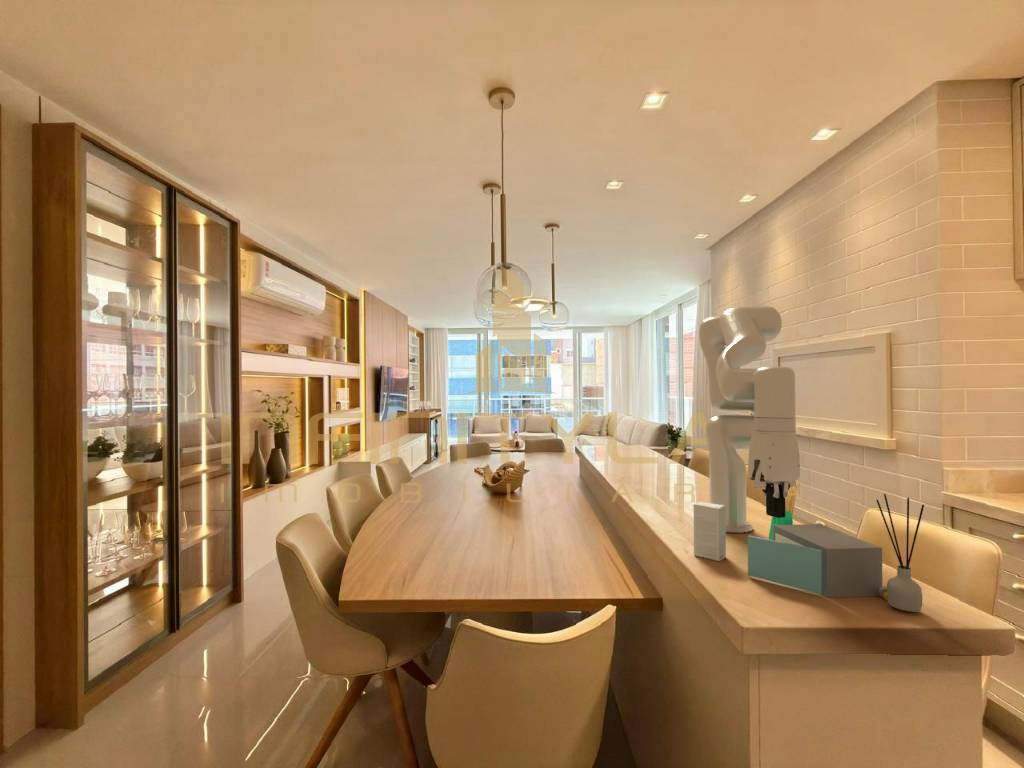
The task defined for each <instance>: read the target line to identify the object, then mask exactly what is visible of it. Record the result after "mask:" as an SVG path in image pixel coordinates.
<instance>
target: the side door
mask: <svg viewBox="0 0 1024 768" xmlns="http://www.w3.org/2000/svg"><path fill="white" fill-rule="evenodd" d="M747 576H750V577H754V578H758V579H761V580H765V581H769V582H772V583H777V584H780V585H784V586H787V587H793V588H796V589H799V590H802V591H806V592H810V593H815V594H818V595H822V550H818V549H813V548H808V547H804V546H799V545H794V544H789V543H784V542H779V541H774V540H770V539H769V538H763V537H759V536H755V535H750V534H749V535H748V536H747Z"/></svg>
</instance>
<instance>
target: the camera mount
mask: <svg viewBox="0 0 1024 768" xmlns="http://www.w3.org/2000/svg"><path fill="white" fill-rule="evenodd" d="M785 513H786V516H785V517H781V518H777V517H773V516H771V520H770V521H771V522H770V528H769V533H768V539H770V540H774V534H773V525H794V524H793V523H794V520H793V515H792V512H791V511H790V510H785Z"/></svg>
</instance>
